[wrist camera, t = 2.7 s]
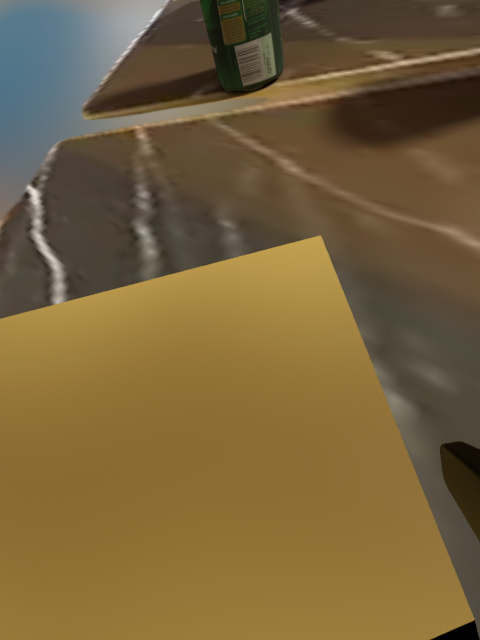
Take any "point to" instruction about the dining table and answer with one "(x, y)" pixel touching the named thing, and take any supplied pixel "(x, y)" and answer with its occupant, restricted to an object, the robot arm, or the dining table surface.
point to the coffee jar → (245, 41)
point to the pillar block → (212, 468)
